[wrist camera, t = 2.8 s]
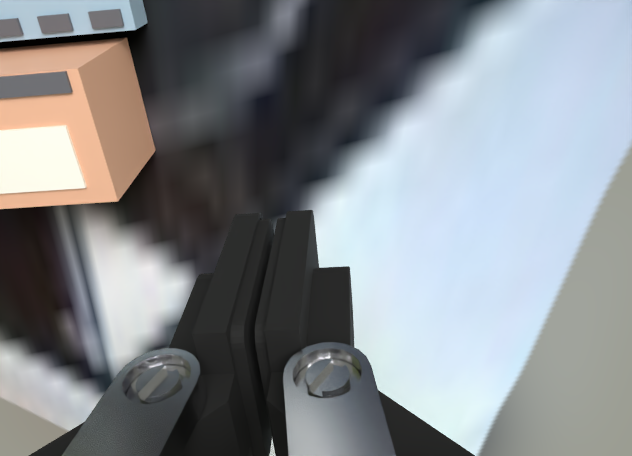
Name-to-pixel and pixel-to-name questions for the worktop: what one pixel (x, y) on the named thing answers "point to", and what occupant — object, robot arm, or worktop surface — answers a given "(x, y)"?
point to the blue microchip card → (67, 17)
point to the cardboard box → (70, 124)
